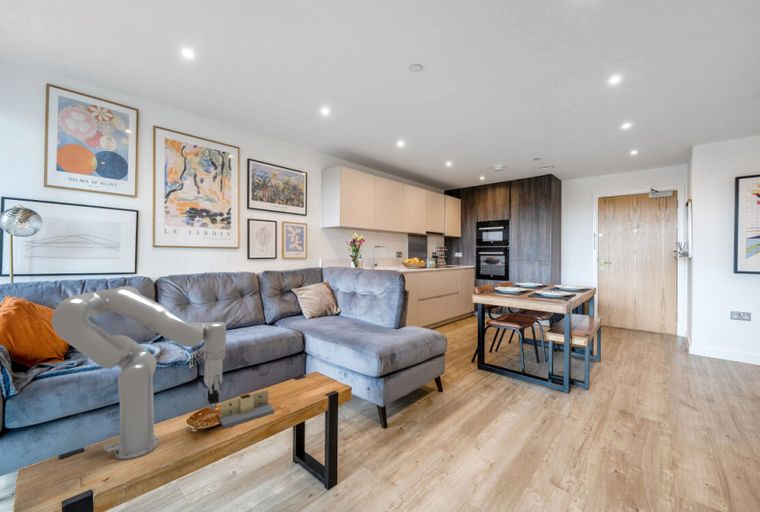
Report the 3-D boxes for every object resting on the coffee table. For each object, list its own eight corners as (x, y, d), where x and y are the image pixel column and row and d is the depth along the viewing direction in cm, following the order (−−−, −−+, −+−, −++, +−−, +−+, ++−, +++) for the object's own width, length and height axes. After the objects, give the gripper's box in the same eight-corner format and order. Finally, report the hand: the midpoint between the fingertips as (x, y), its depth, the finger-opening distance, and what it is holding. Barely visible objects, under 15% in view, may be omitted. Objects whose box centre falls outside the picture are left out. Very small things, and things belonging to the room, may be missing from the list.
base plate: (223, 428, 125) (223, 424, 125) (216, 414, 136) (216, 411, 136) (274, 413, 137) (274, 409, 137) (264, 401, 148) (264, 398, 148)
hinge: (222, 419, 129) (222, 405, 129) (219, 415, 133) (219, 400, 133) (269, 406, 140) (269, 392, 140) (266, 401, 145) (266, 388, 145)
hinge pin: (209, 410, 122) (210, 386, 123) (208, 407, 124) (209, 384, 124) (216, 408, 124) (217, 385, 124) (215, 406, 126) (216, 383, 126)
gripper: (200, 350, 129) (199, 396, 128) (207, 361, 116) (205, 412, 115) (221, 348, 133) (219, 392, 133) (229, 357, 120) (227, 407, 120)
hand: (213, 401), depth 124 cm, fingers closed on hinge pin, 2 cm apart
